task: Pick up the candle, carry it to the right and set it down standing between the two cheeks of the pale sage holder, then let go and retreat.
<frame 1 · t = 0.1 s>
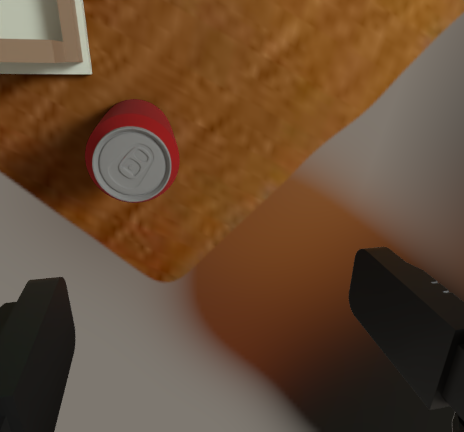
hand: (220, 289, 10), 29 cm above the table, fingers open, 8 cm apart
beverage can: (137, 133, 36), on the table
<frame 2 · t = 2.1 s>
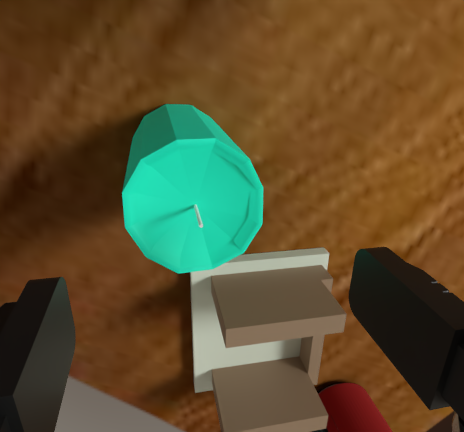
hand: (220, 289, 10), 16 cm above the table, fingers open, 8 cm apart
holder: (255, 318, 32), on the table
candle: (178, 148, 25), on the table
beverage can: (333, 398, 38), on the table
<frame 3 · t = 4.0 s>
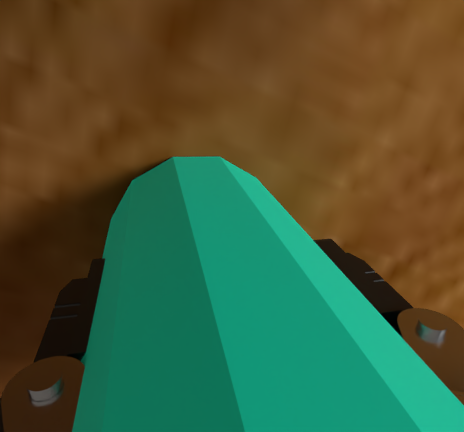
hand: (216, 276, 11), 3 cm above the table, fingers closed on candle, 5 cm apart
candle: (195, 232, 13), on the table, touching gripper
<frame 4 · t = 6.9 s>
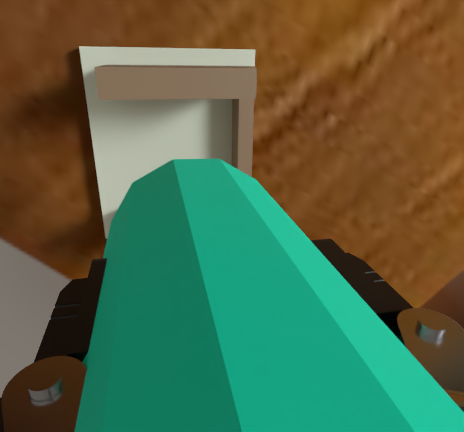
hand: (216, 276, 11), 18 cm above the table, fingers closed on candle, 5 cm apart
holder: (175, 146, 27), on the table
candle: (195, 234, 14), point 15 cm above the table, touching gripper
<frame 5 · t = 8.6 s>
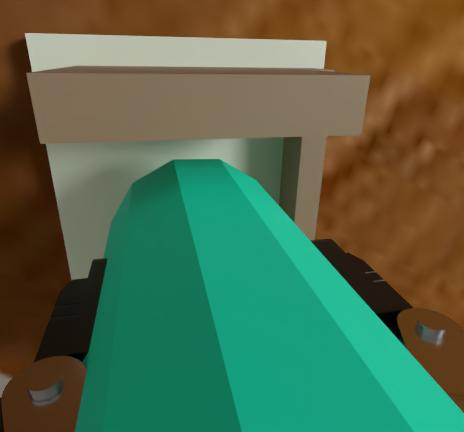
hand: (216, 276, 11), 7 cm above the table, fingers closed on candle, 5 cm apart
holder: (190, 194, 17), on the table
candle: (195, 234, 14), point 4 cm above the table, touching gripper
when the fingers open (5 cm above the table, at t = 9.9 s): candle drops 1 cm, resting on holder.
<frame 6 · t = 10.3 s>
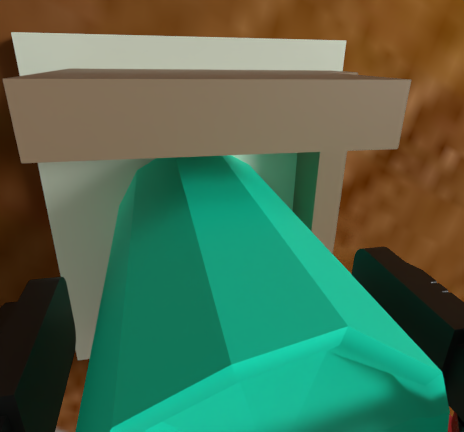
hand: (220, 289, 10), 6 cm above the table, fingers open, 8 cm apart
holder: (195, 207, 16), on the table
candle: (195, 216, 15), point 1 cm above the table, touching holder
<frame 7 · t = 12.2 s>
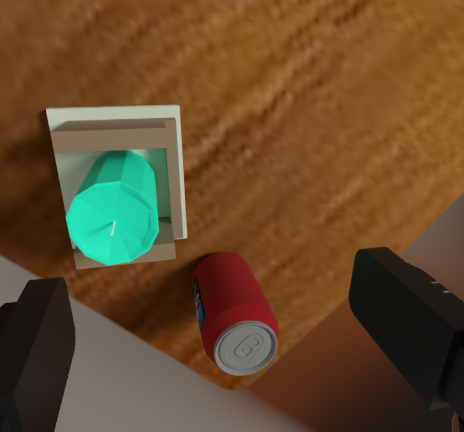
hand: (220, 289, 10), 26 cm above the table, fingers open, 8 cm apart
holder: (124, 177, 35), on the table
candle: (123, 180, 34), point 1 cm above the table, touching holder
beverage can: (219, 274, 41), on the table
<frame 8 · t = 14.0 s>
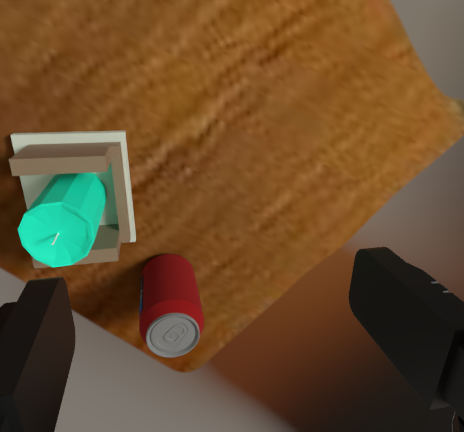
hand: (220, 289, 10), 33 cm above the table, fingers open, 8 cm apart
holder: (80, 190, 41), on the table
candle: (78, 193, 40), point 1 cm above the table, touching holder
beverage can: (167, 272, 48), on the table
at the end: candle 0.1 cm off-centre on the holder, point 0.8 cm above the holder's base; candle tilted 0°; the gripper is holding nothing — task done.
